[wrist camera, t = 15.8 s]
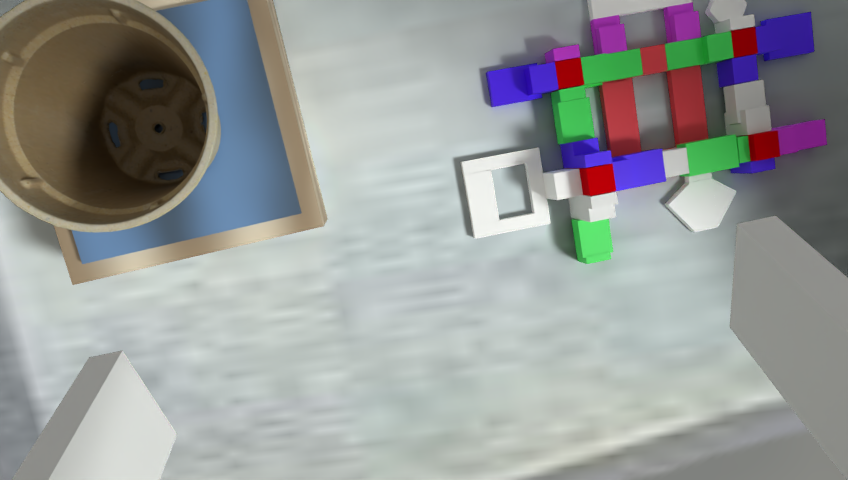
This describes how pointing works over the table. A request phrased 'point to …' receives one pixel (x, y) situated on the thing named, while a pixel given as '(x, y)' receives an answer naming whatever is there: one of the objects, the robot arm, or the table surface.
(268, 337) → the table surface
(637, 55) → the building block set
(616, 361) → the table surface
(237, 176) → the plinth
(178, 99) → the flower pot
